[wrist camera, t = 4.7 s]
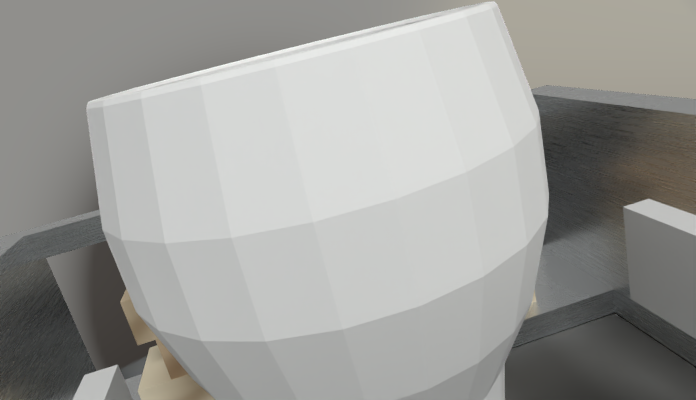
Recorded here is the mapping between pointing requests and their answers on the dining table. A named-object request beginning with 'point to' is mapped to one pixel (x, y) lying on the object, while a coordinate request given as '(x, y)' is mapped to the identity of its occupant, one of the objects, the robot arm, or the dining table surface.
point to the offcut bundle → (164, 365)
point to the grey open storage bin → (555, 262)
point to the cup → (334, 212)
